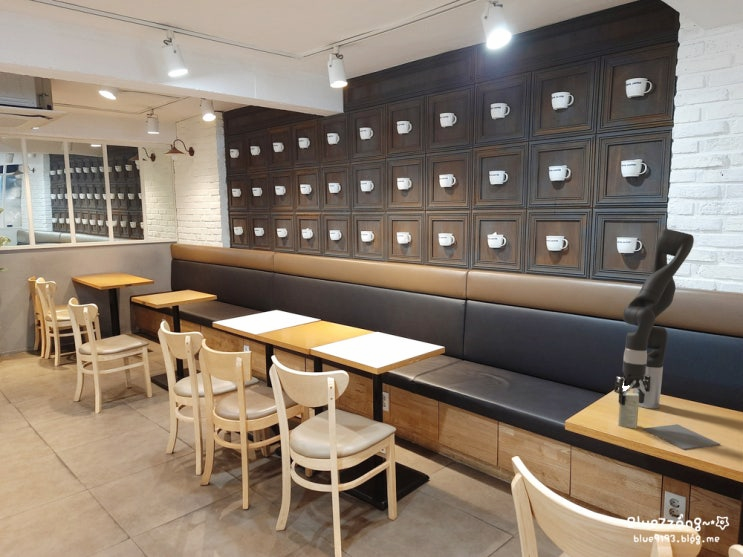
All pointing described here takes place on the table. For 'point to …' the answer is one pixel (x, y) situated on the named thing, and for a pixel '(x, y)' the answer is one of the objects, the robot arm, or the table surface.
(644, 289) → the robot arm
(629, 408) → the skincare box
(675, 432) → the mat
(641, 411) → the table surface
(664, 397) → the table surface
